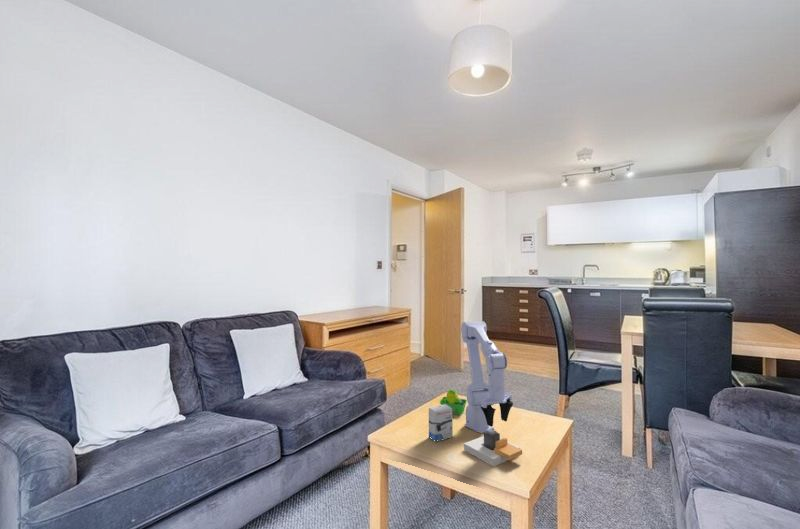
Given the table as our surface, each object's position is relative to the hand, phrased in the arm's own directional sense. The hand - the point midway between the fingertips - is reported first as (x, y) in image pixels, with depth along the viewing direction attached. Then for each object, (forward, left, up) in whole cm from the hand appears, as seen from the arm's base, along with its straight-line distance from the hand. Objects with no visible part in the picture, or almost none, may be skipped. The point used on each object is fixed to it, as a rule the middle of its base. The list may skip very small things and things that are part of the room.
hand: (497, 422), depth 138 cm
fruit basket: (-36, +11, -10) cm, 39 cm away
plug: (+1, -4, -9) cm, 10 cm away
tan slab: (+8, -4, -7) cm, 11 cm away
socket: (+1, -4, -9) cm, 10 cm away
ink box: (-19, -11, -10) cm, 24 cm away
